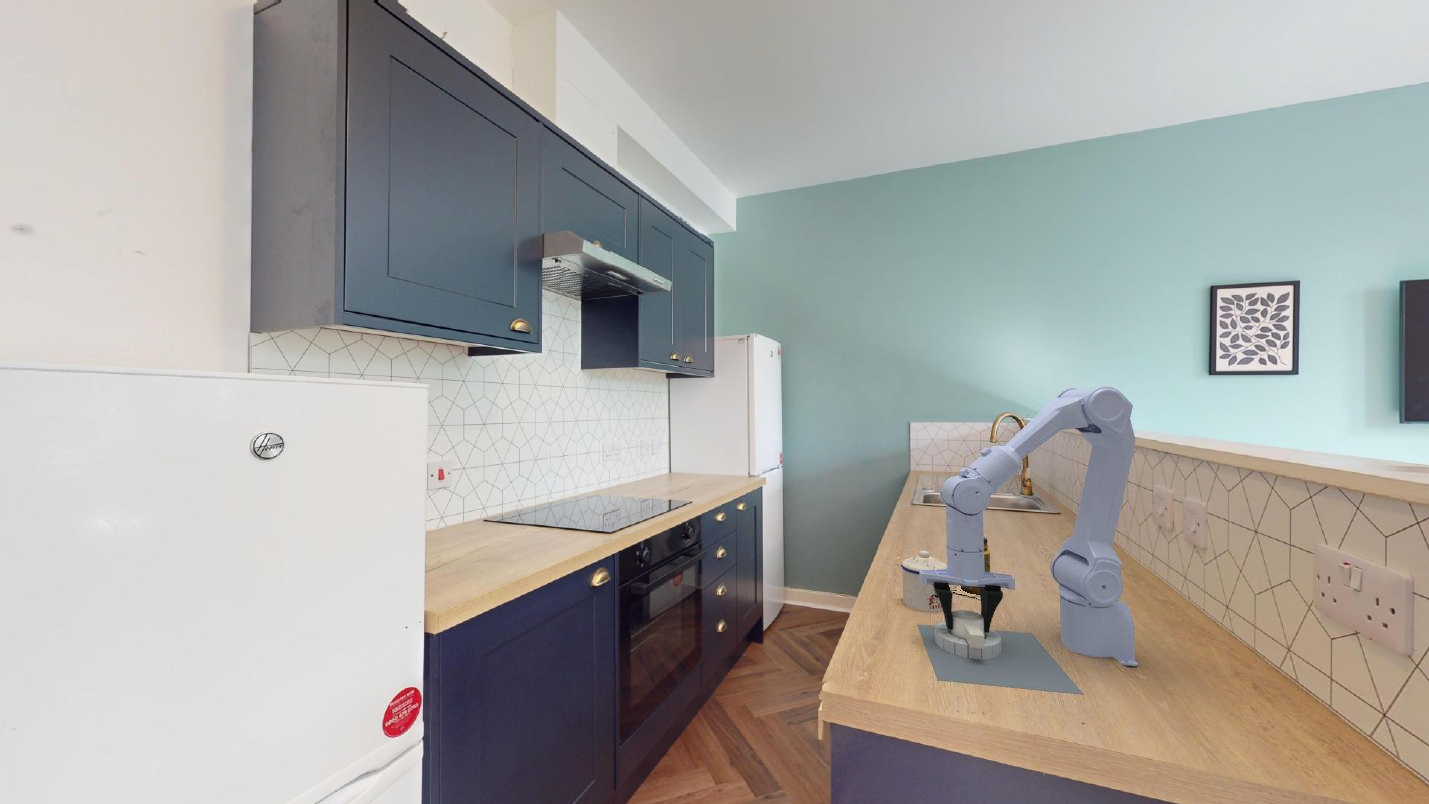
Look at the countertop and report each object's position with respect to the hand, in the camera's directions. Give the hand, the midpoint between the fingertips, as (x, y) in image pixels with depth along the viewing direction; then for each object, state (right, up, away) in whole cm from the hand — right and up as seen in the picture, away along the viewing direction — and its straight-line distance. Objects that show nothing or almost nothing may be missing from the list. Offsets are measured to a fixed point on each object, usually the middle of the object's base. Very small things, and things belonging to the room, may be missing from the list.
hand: (966, 628), depth 87 cm
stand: (+2, -4, -4) cm, 5 cm away
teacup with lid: (+2, -4, +19) cm, 20 cm away
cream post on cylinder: (0, -3, -2) cm, 4 cm away
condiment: (+15, -4, +27) cm, 31 cm away
